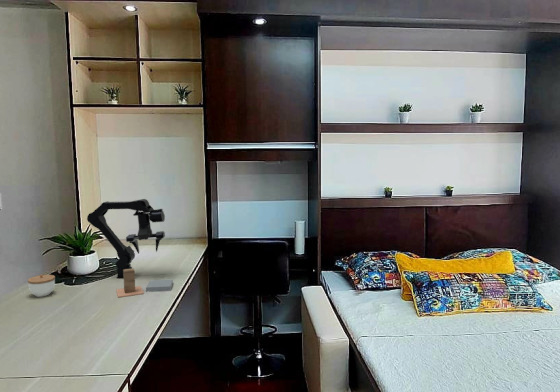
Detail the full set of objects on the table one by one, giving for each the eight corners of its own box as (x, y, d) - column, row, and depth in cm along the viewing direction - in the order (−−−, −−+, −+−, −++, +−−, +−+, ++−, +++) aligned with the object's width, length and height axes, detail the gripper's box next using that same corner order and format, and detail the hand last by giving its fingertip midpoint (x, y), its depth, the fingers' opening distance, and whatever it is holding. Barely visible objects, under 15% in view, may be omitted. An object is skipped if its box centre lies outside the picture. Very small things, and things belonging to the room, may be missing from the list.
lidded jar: (61, 292, 186) (60, 272, 185) (40, 299, 176) (39, 279, 175) (44, 289, 190) (42, 270, 189) (23, 297, 180) (21, 276, 179)
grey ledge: (146, 291, 187) (146, 287, 187) (150, 284, 198) (149, 280, 198) (170, 290, 189) (170, 286, 188) (172, 283, 199) (172, 279, 199)
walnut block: (124, 290, 187) (123, 269, 186) (134, 288, 189) (133, 268, 188) (124, 293, 183) (124, 272, 182) (135, 291, 185) (134, 270, 184)
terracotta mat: (116, 290, 189) (116, 289, 189) (140, 287, 194) (140, 286, 193) (117, 297, 179) (117, 296, 179) (143, 294, 184) (143, 292, 184)
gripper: (121, 227, 199) (125, 258, 200) (160, 223, 201) (163, 254, 203) (127, 224, 210) (130, 253, 211) (163, 220, 212) (166, 249, 214)
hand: (147, 252), depth 210 cm, fingers open, 9 cm apart
